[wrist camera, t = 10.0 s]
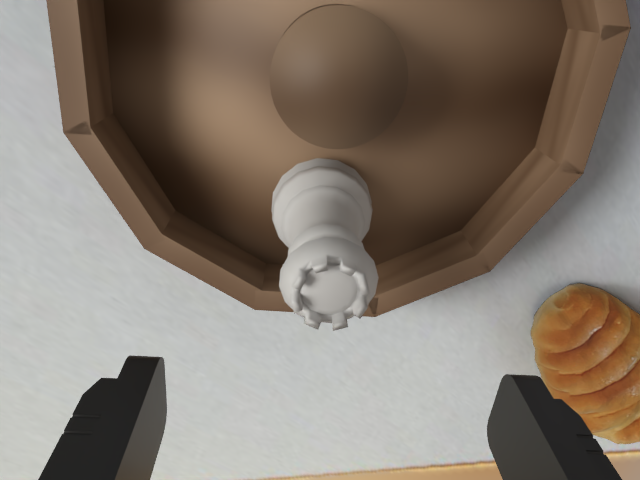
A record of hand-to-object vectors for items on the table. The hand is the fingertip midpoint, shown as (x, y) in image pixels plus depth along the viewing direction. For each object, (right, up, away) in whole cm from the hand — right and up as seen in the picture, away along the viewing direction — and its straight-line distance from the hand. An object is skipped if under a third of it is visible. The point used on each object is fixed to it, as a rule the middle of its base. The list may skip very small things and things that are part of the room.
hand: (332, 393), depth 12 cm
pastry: (+15, -3, +17) cm, 23 cm away
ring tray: (0, +11, +10) cm, 14 cm away
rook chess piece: (0, +5, +11) cm, 12 cm away
